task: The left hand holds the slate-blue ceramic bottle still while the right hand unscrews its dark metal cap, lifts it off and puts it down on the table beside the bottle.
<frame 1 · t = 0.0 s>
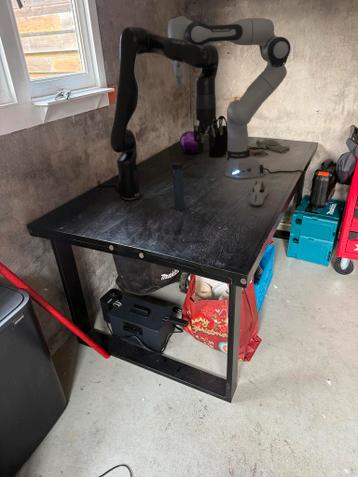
left hand: (206, 149, 132), 29 cm above the table, tool pointing down, fingers open, 8 cm apart
right hand: (179, 86, 168), 48 cm above the table, tool pointing down, fingers open, 8 cm apart
boot: (216, 144, 252), on the table
cap: (177, 164, 143), point 21 cm above the table, screwed on, not yet turned
pair of gloves: (261, 151, 229), on the table
bottle: (179, 208, 154), on the table
ballet flat: (258, 197, 160), on the table
handbag: (220, 153, 229), on the table
decorative orb: (190, 153, 234), on the table
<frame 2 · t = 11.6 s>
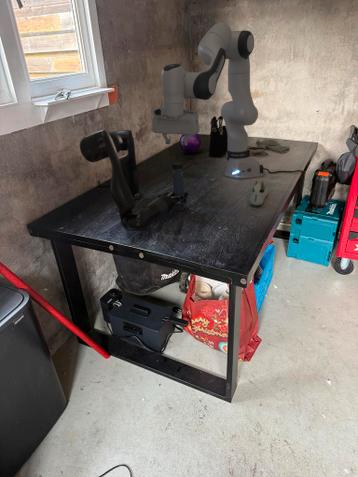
left hand: (182, 193, 152), 7 cm above the table, tool horizontal, fingers closed on bottle, 4 cm apart
right hand: (176, 144, 139), 30 cm above the table, tool pointing down, fingers open, 7 cm apart
bottle: (179, 208, 154), on the table, touching left hand
everything else where it was.
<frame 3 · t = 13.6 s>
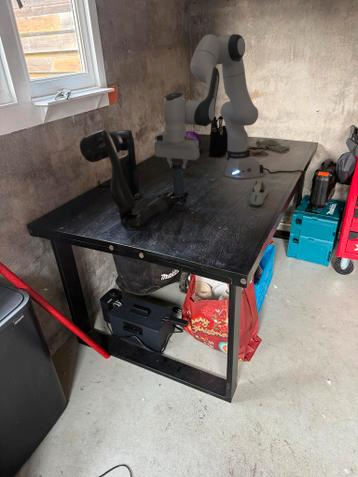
left hand: (182, 193, 152), 7 cm above the table, tool horizontal, fingers closed on bottle, 4 cm apart
right hand: (177, 168, 144), 19 cm above the table, tool pointing down, fingers closed on cap, 4 cm apart
cap: (177, 164, 143), point 21 cm above the table, screwed on, not yet turned, touching right hand
bottle: (179, 208, 154), on the table, touching left hand
everything else where it was.
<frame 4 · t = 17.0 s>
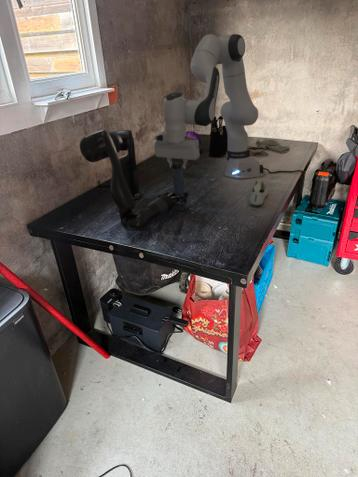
left hand: (182, 193, 152), 7 cm above the table, tool horizontal, fingers closed on bottle, 4 cm apart
right hand: (177, 168, 144), 20 cm above the table, tool pointing down, fingers closed on cap, 4 cm apart
cap: (177, 163, 143), point 21 cm above the table, turned 94° so far, risen 0.1 cm, still on its thread, touching right hand
bottle: (180, 208, 154), on the table, touching left hand
everything else where it was.
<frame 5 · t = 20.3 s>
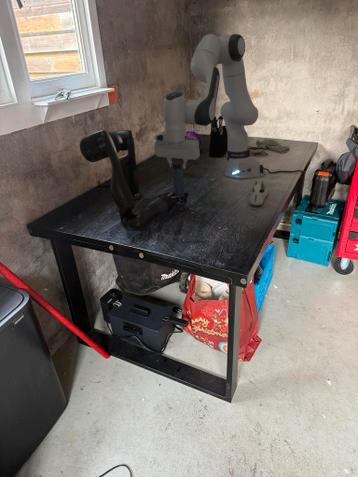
left hand: (182, 193, 152), 7 cm above the table, tool horizontal, fingers closed on bottle, 4 cm apart
right hand: (177, 167, 144), 20 cm above the table, tool pointing down, fingers closed on cap, 4 cm apart
cap: (177, 163, 143), point 22 cm above the table, turned 187° so far, risen 0.2 cm, still on its thread, touching right hand
bottle: (180, 208, 154), on the table, touching left hand
everything else where it was.
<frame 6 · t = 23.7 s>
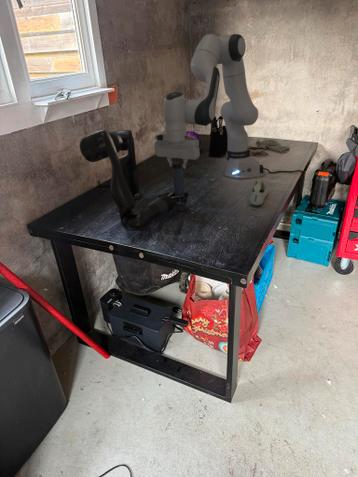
left hand: (182, 193, 152), 7 cm above the table, tool horizontal, fingers closed on bottle, 4 cm apart
right hand: (177, 167, 144), 20 cm above the table, tool pointing down, fingers closed on cap, 4 cm apart
cap: (177, 163, 143), point 22 cm above the table, turned 280° so far, risen 0.2 cm, still on its thread, touching right hand
bottle: (180, 208, 154), on the table, touching left hand
everything else where it was.
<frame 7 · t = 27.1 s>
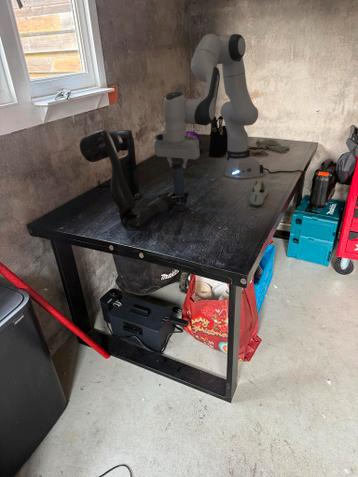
left hand: (182, 193, 152), 7 cm above the table, tool horizontal, fingers closed on bottle, 4 cm apart
right hand: (177, 167, 144), 20 cm above the table, tool pointing down, fingers closed on cap, 4 cm apart
cap: (177, 163, 143), point 22 cm above the table, turned 373° so far, risen 0.3 cm, still on its thread, touching right hand
bottle: (180, 208, 154), on the table, touching left hand
everything else where it was.
when the right hand's fingers open (2 cm above the table, at t = 33.9 s): cap drops 2 cm, point 2 cm above the table.
when the left hand's fingers open (7 cm above the table, at t = 35.0 s): bottle stays where it is, on the table.
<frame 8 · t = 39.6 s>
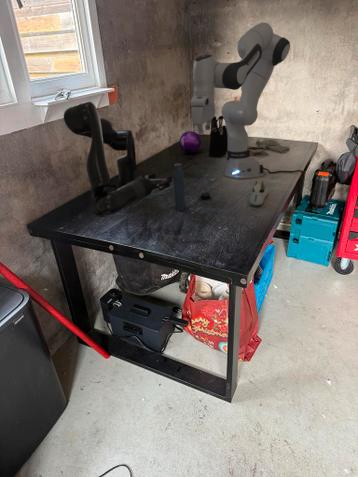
left hand: (162, 176, 137), 19 cm above the table, tool horizontal, fingers open, 8 cm apart
right hand: (204, 131, 147), 32 cm above the table, tool pointing down, fingers open, 8 cm apart
cap: (205, 194, 162), point 2 cm above the table, off its thread
bottle: (180, 208, 154), on the table
everything else where it was.
at the end: cap came off its thread; cap point 1.7 cm above the table; the left hand is holding nothing; the right hand is holding nothing; bottle tilted 0°; bottle moved 0.3 cm from its start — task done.
